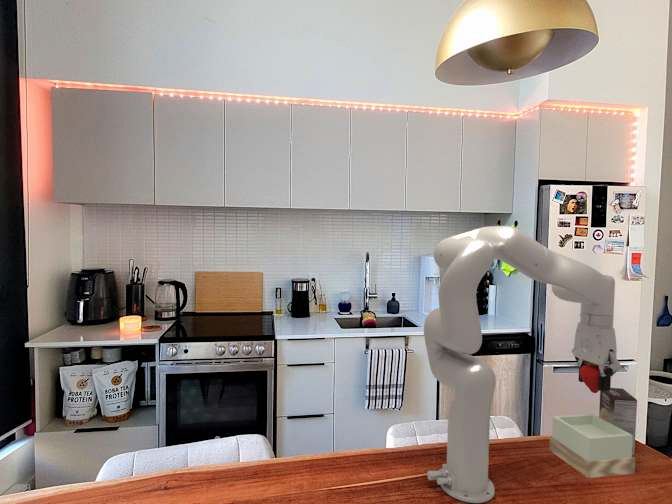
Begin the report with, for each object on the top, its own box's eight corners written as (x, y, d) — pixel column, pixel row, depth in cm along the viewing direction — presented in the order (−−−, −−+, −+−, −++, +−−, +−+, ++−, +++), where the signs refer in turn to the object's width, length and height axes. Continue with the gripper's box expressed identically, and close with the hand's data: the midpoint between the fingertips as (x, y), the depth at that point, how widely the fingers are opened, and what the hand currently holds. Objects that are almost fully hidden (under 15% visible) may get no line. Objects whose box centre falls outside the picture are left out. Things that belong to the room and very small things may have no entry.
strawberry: (573, 388, 114) (574, 353, 113) (600, 389, 114) (601, 353, 113) (586, 396, 108) (588, 359, 107) (614, 397, 108) (616, 359, 107)
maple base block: (588, 480, 103) (588, 462, 103) (549, 451, 117) (549, 436, 117) (634, 475, 106) (635, 458, 106) (591, 447, 119) (592, 432, 119)
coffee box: (596, 437, 125) (599, 386, 124) (620, 440, 123) (622, 388, 123) (610, 453, 116) (613, 397, 115) (636, 455, 114) (638, 399, 114)
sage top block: (588, 461, 103) (589, 438, 103) (552, 437, 116) (553, 416, 116) (631, 457, 106) (632, 435, 106) (591, 434, 118) (592, 413, 118)
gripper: (561, 314, 118) (558, 375, 118) (611, 327, 101) (608, 399, 101) (583, 314, 119) (581, 374, 120) (637, 326, 102) (634, 397, 103)
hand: (593, 385), depth 111 cm, fingers closed on strawberry, 6 cm apart
